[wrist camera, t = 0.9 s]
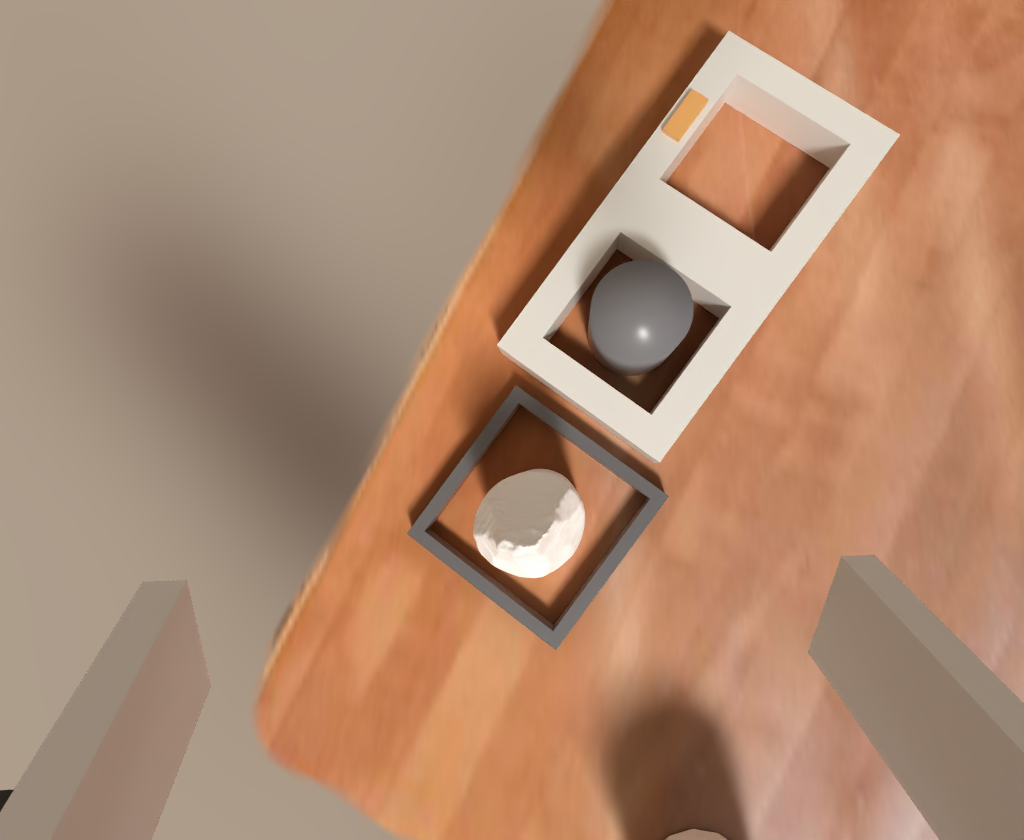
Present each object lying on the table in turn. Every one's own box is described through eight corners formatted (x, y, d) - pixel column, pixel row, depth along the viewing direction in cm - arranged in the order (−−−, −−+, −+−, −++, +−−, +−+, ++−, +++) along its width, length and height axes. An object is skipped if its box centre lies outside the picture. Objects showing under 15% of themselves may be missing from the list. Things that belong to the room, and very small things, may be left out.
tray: (665, 495, 39) (668, 496, 38) (556, 643, 39) (555, 650, 38) (518, 388, 41) (516, 385, 39) (412, 531, 40) (406, 533, 39)
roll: (545, 444, 28) (614, 550, 27) (552, 451, 40) (600, 525, 39) (435, 515, 28) (501, 622, 28) (474, 501, 40) (521, 576, 40)
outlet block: (875, 160, 40) (929, 105, 34) (652, 462, 39) (667, 461, 33) (717, 62, 41) (742, -7, 35) (502, 354, 41) (490, 334, 35)
